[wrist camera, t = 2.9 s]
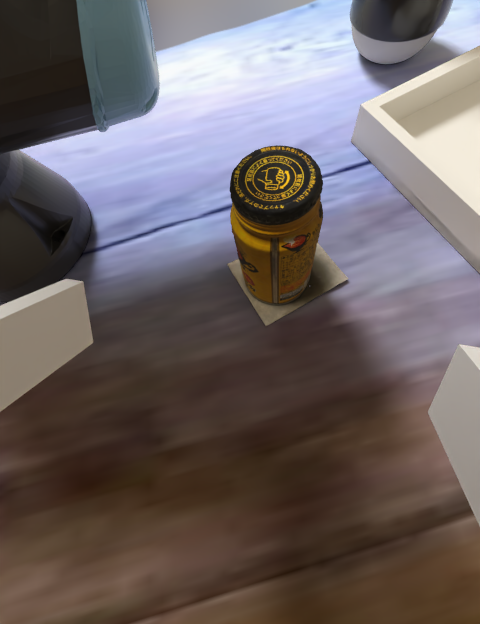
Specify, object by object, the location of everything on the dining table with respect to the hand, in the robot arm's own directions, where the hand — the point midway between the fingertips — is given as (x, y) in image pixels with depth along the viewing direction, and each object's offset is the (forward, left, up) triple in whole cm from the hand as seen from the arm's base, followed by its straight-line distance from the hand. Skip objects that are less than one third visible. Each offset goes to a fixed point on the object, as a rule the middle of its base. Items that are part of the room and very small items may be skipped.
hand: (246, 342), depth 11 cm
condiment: (-8, +7, -15) cm, 18 cm away
